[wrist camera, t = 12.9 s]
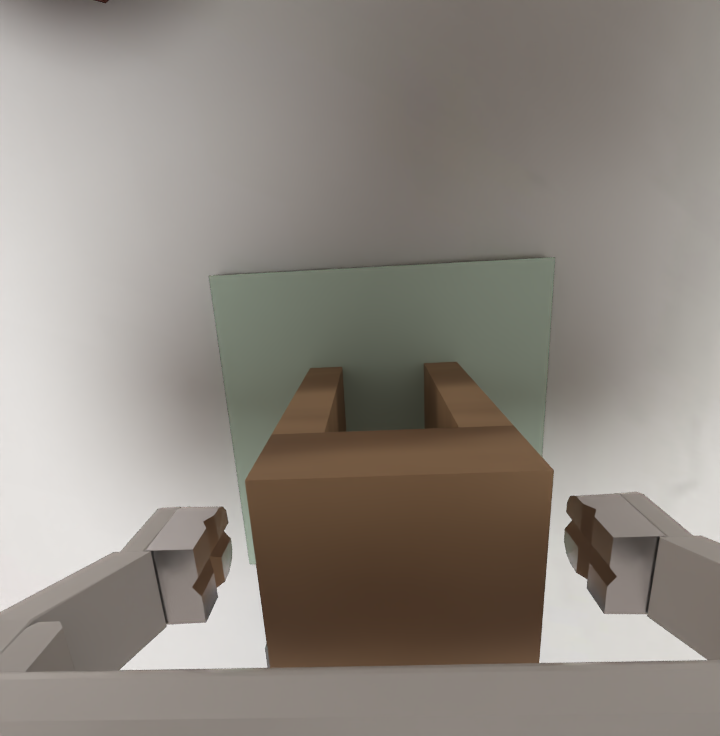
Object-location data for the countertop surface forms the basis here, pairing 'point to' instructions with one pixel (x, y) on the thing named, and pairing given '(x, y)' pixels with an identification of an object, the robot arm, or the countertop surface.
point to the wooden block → (400, 532)
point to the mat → (381, 343)
